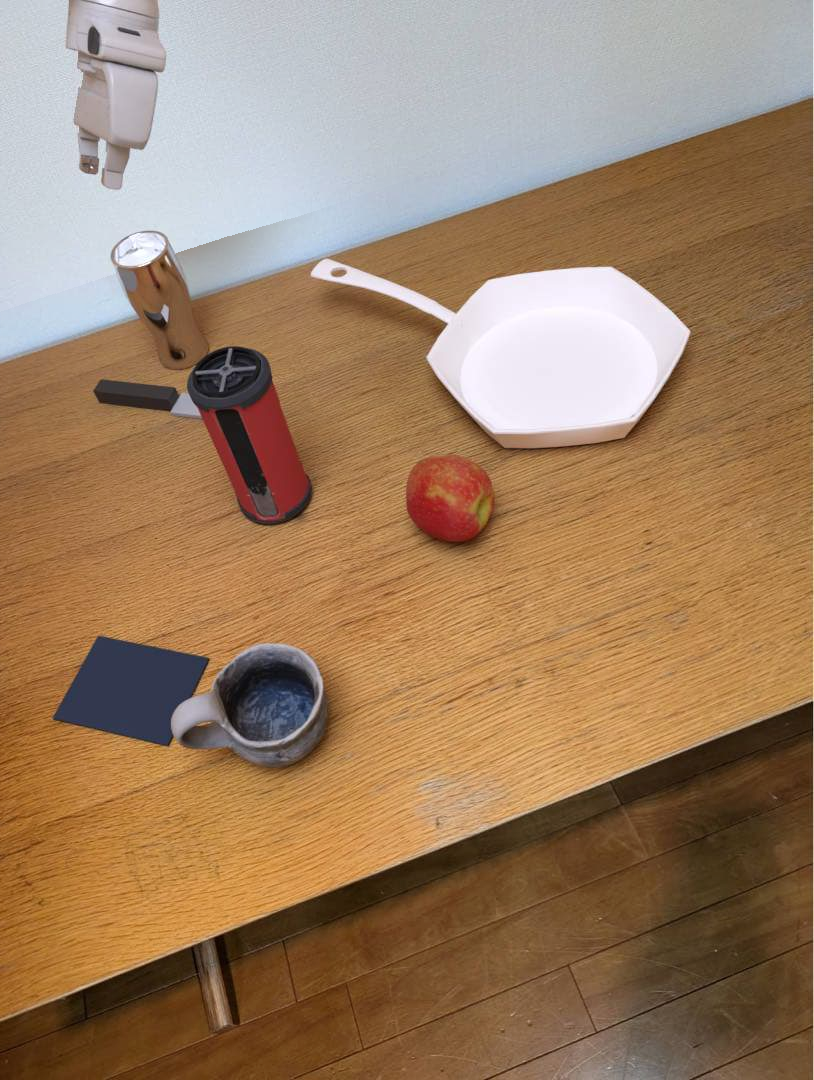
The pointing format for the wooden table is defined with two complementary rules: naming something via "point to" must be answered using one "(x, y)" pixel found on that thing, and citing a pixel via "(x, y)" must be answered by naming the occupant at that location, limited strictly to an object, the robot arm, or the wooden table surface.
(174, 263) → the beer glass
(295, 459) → the speaker
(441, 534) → the apple
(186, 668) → the cloth
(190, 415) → the spatula
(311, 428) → the wooden table surface
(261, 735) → the mug
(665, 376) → the pan
